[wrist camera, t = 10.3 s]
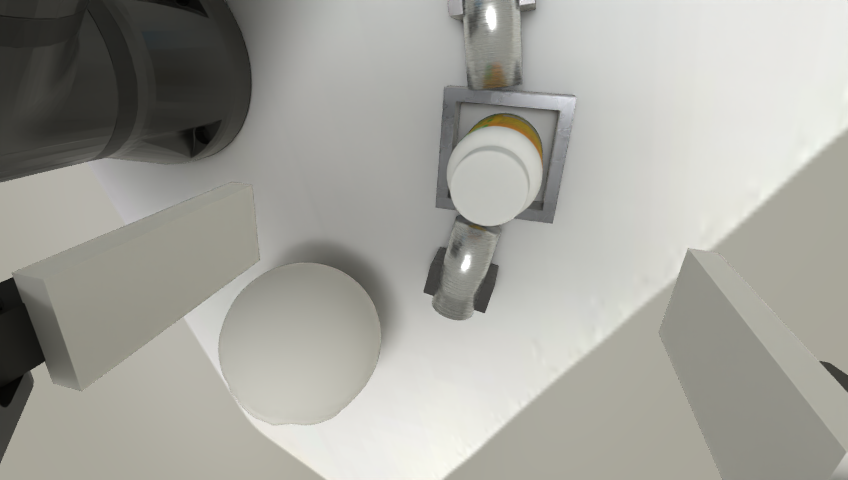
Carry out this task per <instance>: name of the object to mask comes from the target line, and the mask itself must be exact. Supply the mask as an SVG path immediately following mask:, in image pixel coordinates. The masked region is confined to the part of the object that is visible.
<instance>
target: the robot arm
mask: <svg viewBox="0 0 848 480" xmlns="http://www.w3.org/2000/svg"><path fill="white" fill-rule="evenodd" d="M250 88H251V78H250V67H249V60H248V55H247V51H246V47H245V44H244V40H243V37H242V35H241V32H240V29H239V27H238V25H237V23H236V21H235V19H234V17H233V15H232V13H231V11H230V10H229V8H228V6H227V5H226V3H225V2H224V0H0V182H4V181H9V180H13V179H17V178H21V177H25V176H29V175H33V174H37V173H42V172H46V171H50V170H54V169H58V168H63V167H67V166H72V165H76V164H80V163H84V162H88V161H92V160H97V159H102V158H113V159H122V160H131V161H141V162H150V163H159V164H181V163H187V162H191V161H194V160H198V159H201V158H204V157H208V156H211V155H213V154H215V153H217V152H219V151H220V150H222V149H223V148H224V147H226V146H227V145H228V144H229V143H230V142H231V141H232V140H233V138H234V137H235V136H236V134H237V133H238V131H239V130H240V128H241V126H242V124H243V121H244V119H245V116H246V113H247V109H248V105H249V99H250ZM259 260H260V256H259V247H258V237H257V227H256V218H255V208H254V198H253V189H252V185H249V184H242V183H235V182H230V183H228V184H225V185H223V186H220V187H218V188H216V189H213V190H211V191H208V192H206V193H203V194H201V195H199V196H196V197H194V198H191V199H189V200H186V201H184V202H182V203H179V204H177V205H174V206H172V207H170V208H167V209H165V210H162V211H160V212H157V213H155V214H153V215H150V216H148V217H145V218H143V219H140V220H138V221H136V222H133V223H131V224H128V225H126V226H124V227H121V228H119V229H116V230H114V231H112V232H109V233H107V234H104V235H102V236H99V237H97V238H95V239H92V240H90V241H87V242H85V243H83V244H80V245H78V246H75V247H73V248H70V249H68V250H65V251H63V252H61V253H58V254H56V255H53V256H51V257H48V258H46V259H44V260H41V261H39V262H36V263H34V264H32V265H29V266H27V267H25V268H22V269H19V270H17V271H15V272H12V275H13V277H12V278H10V279H8V280H5V281H3V282H1V283H0V463H1V460H2V458H3V456H4V453H5V451H6V449H7V446H8V444H9V442H10V439H11V437H12V435H13V432H14V430H15V428H16V425H17V423H18V421H19V418H20V416H21V414H22V411H23V409H24V406H25V405H26V402H27V400H28V397H29V395H30V393H31V390H32V388H33V382H34V380H33V377H32V374H31V372H30V370H31V369H33V368H35V367H36V366H38V365H40V364H41V363H43V362H44V361H45V363H46V366H47V368H48V371H49V374H50V377H51V379H52V382H53V383H54V384H57V385H61V386H64V387H68V388H72V389H75V390H79V391H83V390H84V389H85V388H87V387H88V386H89V385H91V384H92V383H93V382H95V381H96V380H98V379H99V378H100V377H102V376H103V375H104V374H106V373H107V372H108V371H110V370H111V369H113V368H114V367H115V366H117V365H118V364H119V363H121V362H122V361H123V360H125V359H126V358H127V357H129V356H130V355H131V354H133V353H134V352H136V351H137V350H138V349H139V348H141V347H142V346H144V345H145V344H146V343H148V342H149V341H150V340H152V339H153V338H154V337H156V336H157V335H159V334H160V333H161V332H163V331H164V330H165V329H167V328H168V327H169V326H171V325H172V324H174V323H175V322H176V321H178V320H179V319H180V318H182V317H183V316H185V315H186V314H187V313H189V312H190V311H191V310H193V309H194V308H195V307H197V306H198V305H199V304H201V303H202V302H204V301H205V300H206V299H208V298H209V297H210V296H212V295H213V294H214V293H216V292H217V291H218V290H220V289H221V288H223V287H224V286H225V285H227V284H228V283H229V282H231V281H232V280H233V279H235V278H236V277H237V276H239V275H240V274H242V273H243V272H244V271H246V270H247V269H248V268H250V267H251V266H252V265H254V264H255V263H257V262H258V261H259ZM659 335H660V337H661V340H662V342H663V344H664V346H665V349H666V351H667V353H668V356H669V358H670V360H671V363H672V365H673V367H674V369H675V371H676V374H677V376H678V379H679V381H680V383H681V386H682V388H683V390H684V392H685V395H686V397H687V399H688V402H689V404H690V406H691V408H692V411H693V413H694V415H695V418H696V420H697V422H698V425H699V427H700V429H701V431H702V434H703V436H704V438H705V441H706V443H707V445H708V448H709V450H710V452H711V455H712V457H713V459H714V461H715V464H716V466H717V468H718V471H719V473H720V475H721V478H722V480H848V375H847V374H845V373H843V372H842V371H841V370H839V369H838V368H836V367H835V366H833V365H832V364H830V363H827V362H822V361H818V360H817V359H816V358H815V356H814V355H813V354H812V353H811V352H810V351H809V350H808V349H807V348H806V347H805V346H804V345H803V343H801V341H800V340H799V339H798V338H797V337H796V336H795V335H794V334H793V333H792V332H791V330H790V329H789V328H788V327H787V326H786V325H785V324H784V323H783V322H782V321H781V319H780V318H779V317H778V316H777V315H776V314H775V313H774V312H773V311H772V310H771V309H770V308H769V306H768V305H767V304H766V303H765V302H764V301H763V300H762V299H761V298H760V297H759V296H758V295H757V293H756V292H755V291H754V290H753V289H752V288H751V287H750V286H749V285H748V284H747V283H746V281H745V280H744V279H743V278H742V277H741V276H740V275H739V274H738V273H737V272H736V270H734V268H733V267H732V266H731V265H730V264H729V263H728V262H727V261H726V260H725V259H724V258H723V256H722V255H721V254H720V253H716V252H710V251H703V250H696V249H689V248H688V250H687V253H686V256H685V258H684V261H683V264H682V267H681V270H680V273H679V275H678V278H677V281H676V284H675V287H674V290H673V293H672V295H671V298H670V301H669V304H668V307H667V310H666V313H665V315H664V318H663V321H662V324H661V327H660V330H659Z"/></svg>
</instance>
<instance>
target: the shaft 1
mask: <svg viewBox="0 0 848 480" xmlns="http://www.w3.org/2000/svg"><path fill="white" fill-rule="evenodd" d="M533 9H536V0H448V10H449V16H450V17H452V18H454V19H457V20H459V21H460V20H463V22H464V37H465V51H466V66H467V80H468V90H477V89H489V88H498V87H506V86H513V85H519V84H522V56H521V17H520V11H527V10H533Z"/></svg>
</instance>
